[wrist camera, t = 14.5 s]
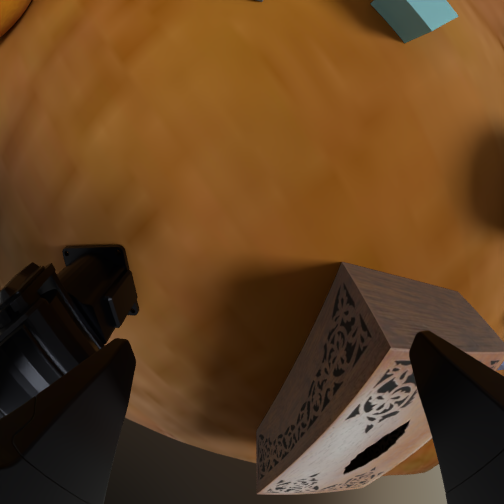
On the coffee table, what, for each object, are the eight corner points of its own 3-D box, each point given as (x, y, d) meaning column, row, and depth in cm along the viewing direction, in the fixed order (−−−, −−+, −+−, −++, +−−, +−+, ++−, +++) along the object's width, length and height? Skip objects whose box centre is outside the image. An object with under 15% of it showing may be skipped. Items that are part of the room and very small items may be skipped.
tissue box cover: (340, 260, 21) (391, 347, 12) (456, 290, 22) (510, 351, 13) (256, 429, 31) (256, 494, 22) (350, 432, 33) (363, 487, 24)
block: (404, 43, 14) (432, 31, 10) (369, 4, 12) (391, -16, 9) (430, 27, 12) (458, 16, 9) (399, -10, 11) (422, -27, 8)
